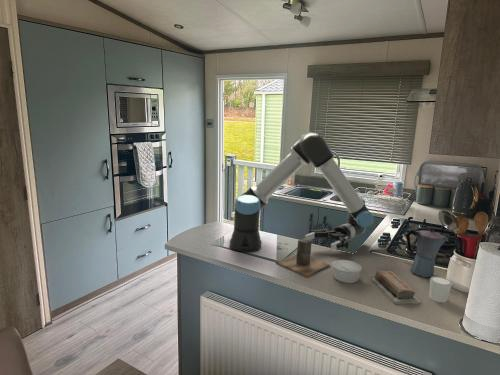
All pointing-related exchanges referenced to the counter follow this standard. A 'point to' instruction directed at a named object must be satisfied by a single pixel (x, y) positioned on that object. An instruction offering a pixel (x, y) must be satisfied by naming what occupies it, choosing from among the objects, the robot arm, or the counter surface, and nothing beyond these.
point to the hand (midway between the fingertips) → (317, 242)
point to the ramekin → (346, 271)
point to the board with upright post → (303, 260)
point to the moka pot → (425, 251)
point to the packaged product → (394, 288)
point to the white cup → (439, 289)
